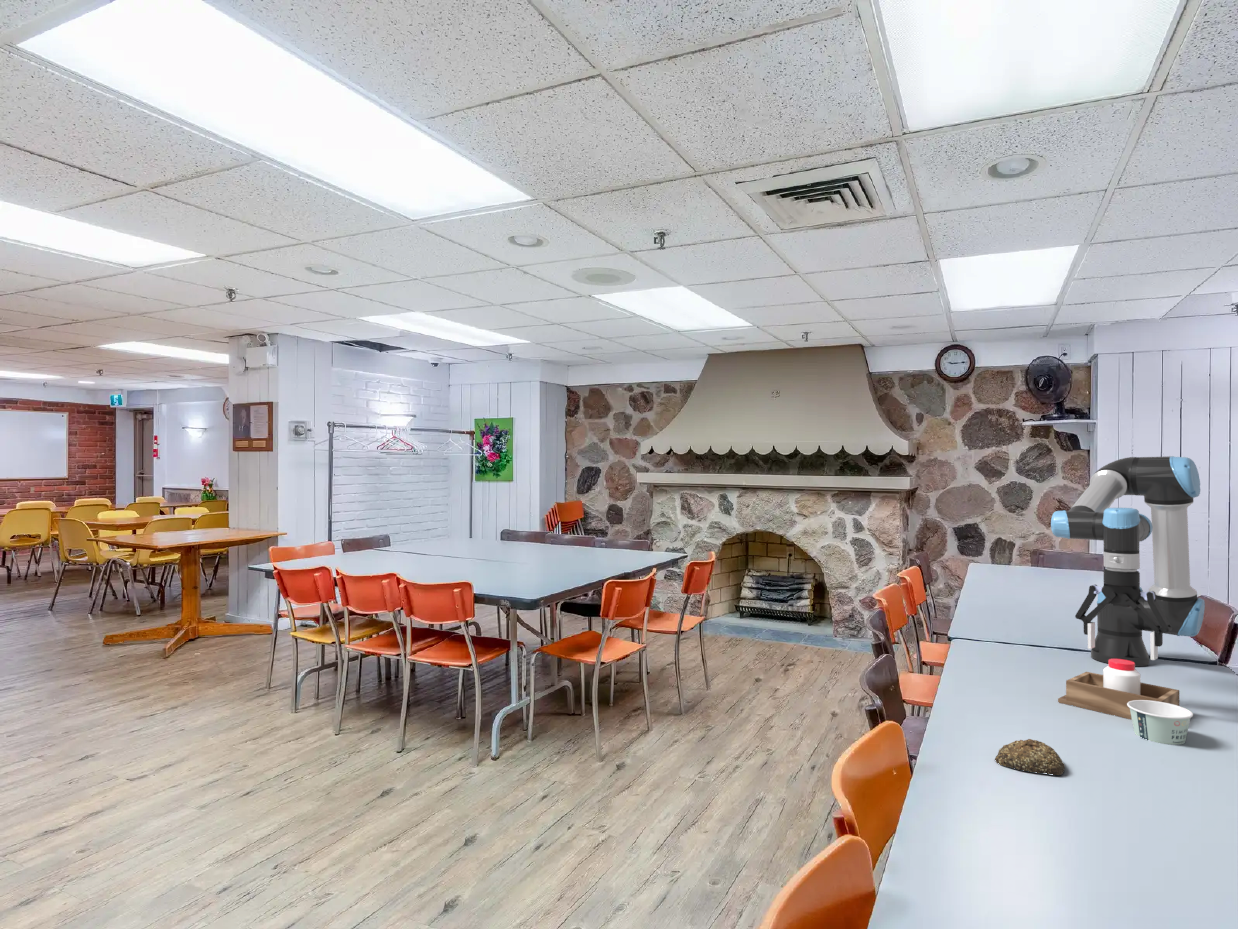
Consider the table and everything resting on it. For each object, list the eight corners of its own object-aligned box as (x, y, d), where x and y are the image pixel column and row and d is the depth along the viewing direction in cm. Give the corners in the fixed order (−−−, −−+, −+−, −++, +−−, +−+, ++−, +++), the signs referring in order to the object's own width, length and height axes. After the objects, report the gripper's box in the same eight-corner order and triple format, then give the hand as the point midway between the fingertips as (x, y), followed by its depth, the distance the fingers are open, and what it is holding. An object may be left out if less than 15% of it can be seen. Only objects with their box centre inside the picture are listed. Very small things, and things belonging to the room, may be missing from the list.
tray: (1079, 692, 196) (1079, 670, 196) (1188, 716, 177) (1188, 691, 177) (1058, 702, 187) (1058, 679, 187) (1170, 729, 168) (1170, 703, 168)
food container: (1175, 751, 155) (1175, 720, 155) (1115, 733, 166) (1115, 704, 166) (1204, 741, 161) (1204, 712, 161) (1144, 724, 172) (1144, 697, 172)
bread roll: (1064, 782, 141) (1064, 756, 141) (993, 768, 147) (993, 743, 147) (1065, 759, 151) (1065, 736, 151) (998, 747, 158) (998, 724, 158)
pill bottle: (1146, 711, 178) (1146, 666, 178) (1111, 709, 179) (1111, 664, 179) (1131, 701, 185) (1131, 658, 185) (1097, 699, 187) (1097, 656, 187)
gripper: (1061, 565, 190) (1061, 646, 190) (1177, 576, 170) (1177, 666, 170) (1072, 562, 194) (1073, 641, 195) (1187, 573, 175) (1187, 661, 175)
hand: (1121, 653), depth 182 cm, fingers open, 13 cm apart
